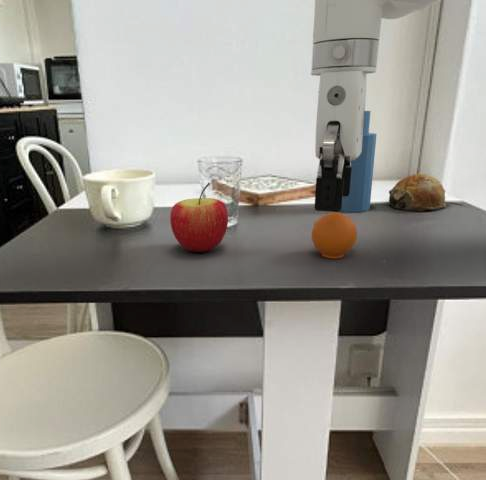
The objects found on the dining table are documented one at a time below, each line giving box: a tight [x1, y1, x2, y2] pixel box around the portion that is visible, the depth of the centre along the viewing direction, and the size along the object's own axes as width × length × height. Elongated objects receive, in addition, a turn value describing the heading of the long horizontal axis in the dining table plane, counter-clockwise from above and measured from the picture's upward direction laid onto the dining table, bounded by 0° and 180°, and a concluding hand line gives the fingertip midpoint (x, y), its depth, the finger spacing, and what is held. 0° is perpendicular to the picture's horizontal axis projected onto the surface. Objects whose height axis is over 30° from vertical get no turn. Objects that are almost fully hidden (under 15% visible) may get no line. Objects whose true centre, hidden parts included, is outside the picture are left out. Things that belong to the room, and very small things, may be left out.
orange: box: [311, 212, 358, 260], centre depth 60 cm, size 6×6×6 cm
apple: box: [169, 182, 229, 253], centre depth 64 cm, size 8×8×10 cm
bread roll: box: [388, 173, 447, 212], centre depth 85 cm, size 10×10×8 cm
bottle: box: [340, 110, 377, 213], centre depth 83 cm, size 6×6×18 cm
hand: (332, 202), depth 58 cm, fingers open, 9 cm apart
